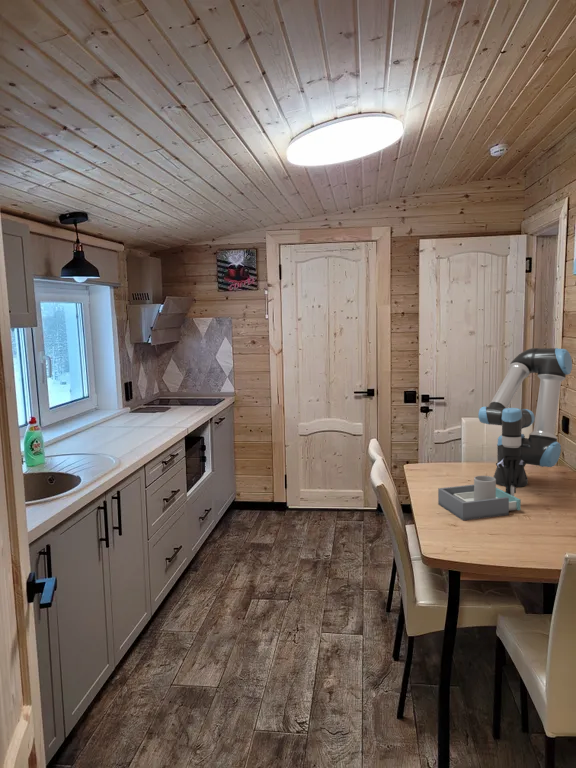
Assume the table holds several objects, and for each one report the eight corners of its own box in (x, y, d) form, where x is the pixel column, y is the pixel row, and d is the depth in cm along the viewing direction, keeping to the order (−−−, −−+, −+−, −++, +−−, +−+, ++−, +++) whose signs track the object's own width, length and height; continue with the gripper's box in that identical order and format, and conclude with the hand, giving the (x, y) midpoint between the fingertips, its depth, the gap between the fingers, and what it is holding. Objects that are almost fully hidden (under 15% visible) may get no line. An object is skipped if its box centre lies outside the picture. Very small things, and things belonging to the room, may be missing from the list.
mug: (494, 509, 222) (494, 482, 221) (471, 506, 226) (472, 480, 225) (498, 500, 232) (498, 474, 231) (477, 497, 237) (477, 472, 235)
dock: (480, 499, 240) (480, 483, 239) (508, 515, 221) (508, 497, 220) (438, 504, 236) (438, 488, 235) (463, 520, 216) (463, 503, 215)
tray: (493, 495, 240) (493, 486, 240) (520, 510, 222) (520, 499, 222) (451, 500, 236) (451, 490, 236) (475, 515, 218) (475, 504, 217)
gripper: (519, 442, 234) (518, 496, 237) (492, 445, 231) (491, 499, 234) (531, 446, 227) (530, 502, 229) (502, 449, 224) (502, 505, 226)
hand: (510, 501), depth 231 cm, fingers closed
